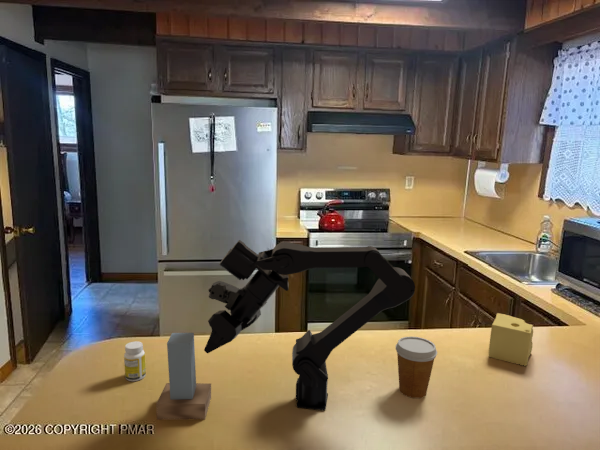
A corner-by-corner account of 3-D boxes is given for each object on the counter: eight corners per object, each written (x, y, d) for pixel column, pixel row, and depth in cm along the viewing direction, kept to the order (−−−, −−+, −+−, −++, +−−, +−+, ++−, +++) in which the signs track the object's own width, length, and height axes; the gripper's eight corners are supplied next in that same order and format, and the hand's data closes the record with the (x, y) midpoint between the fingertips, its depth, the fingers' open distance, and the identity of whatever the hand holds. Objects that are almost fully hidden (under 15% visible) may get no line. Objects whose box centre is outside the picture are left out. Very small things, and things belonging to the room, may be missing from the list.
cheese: (531, 353, 129) (535, 320, 127) (527, 368, 120) (531, 333, 118) (492, 343, 134) (496, 312, 132) (486, 357, 125) (489, 323, 123)
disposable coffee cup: (406, 376, 113) (409, 332, 111) (440, 392, 107) (445, 345, 105) (384, 390, 107) (387, 343, 105) (419, 407, 100) (424, 358, 98)
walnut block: (211, 399, 102) (211, 383, 101) (205, 421, 94) (204, 403, 93) (166, 399, 101) (166, 383, 101) (156, 420, 93) (156, 403, 93)
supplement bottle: (139, 369, 113) (137, 338, 111) (149, 376, 110) (148, 344, 108) (121, 377, 109) (119, 345, 108) (131, 384, 106) (130, 351, 105)
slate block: (196, 386, 99) (193, 332, 96) (192, 399, 94) (189, 342, 92) (175, 387, 99) (172, 332, 96) (170, 399, 94) (166, 343, 91)
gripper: (242, 263, 107) (204, 311, 109) (212, 274, 88) (167, 332, 91) (278, 293, 105) (238, 342, 107) (255, 311, 87) (207, 369, 89)
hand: (214, 345), depth 99 cm, fingers open, 9 cm apart
